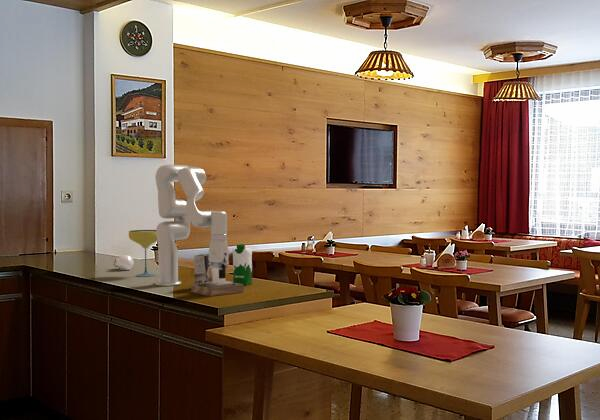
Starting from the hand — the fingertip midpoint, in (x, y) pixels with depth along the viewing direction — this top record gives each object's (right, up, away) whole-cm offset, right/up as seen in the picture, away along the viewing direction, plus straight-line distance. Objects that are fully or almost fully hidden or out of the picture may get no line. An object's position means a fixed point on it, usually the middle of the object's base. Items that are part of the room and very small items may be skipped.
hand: (219, 277), depth 309 cm
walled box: (-1, -7, 0) cm, 7 cm away
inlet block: (0, -7, 0) cm, 7 cm away
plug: (0, -3, 0) cm, 3 cm away
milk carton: (+9, -6, +25) cm, 27 cm away
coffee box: (-9, -7, +14) cm, 18 cm away
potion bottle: (-69, -5, +92) cm, 115 cm away
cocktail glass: (-48, -6, +63) cm, 80 cm away
